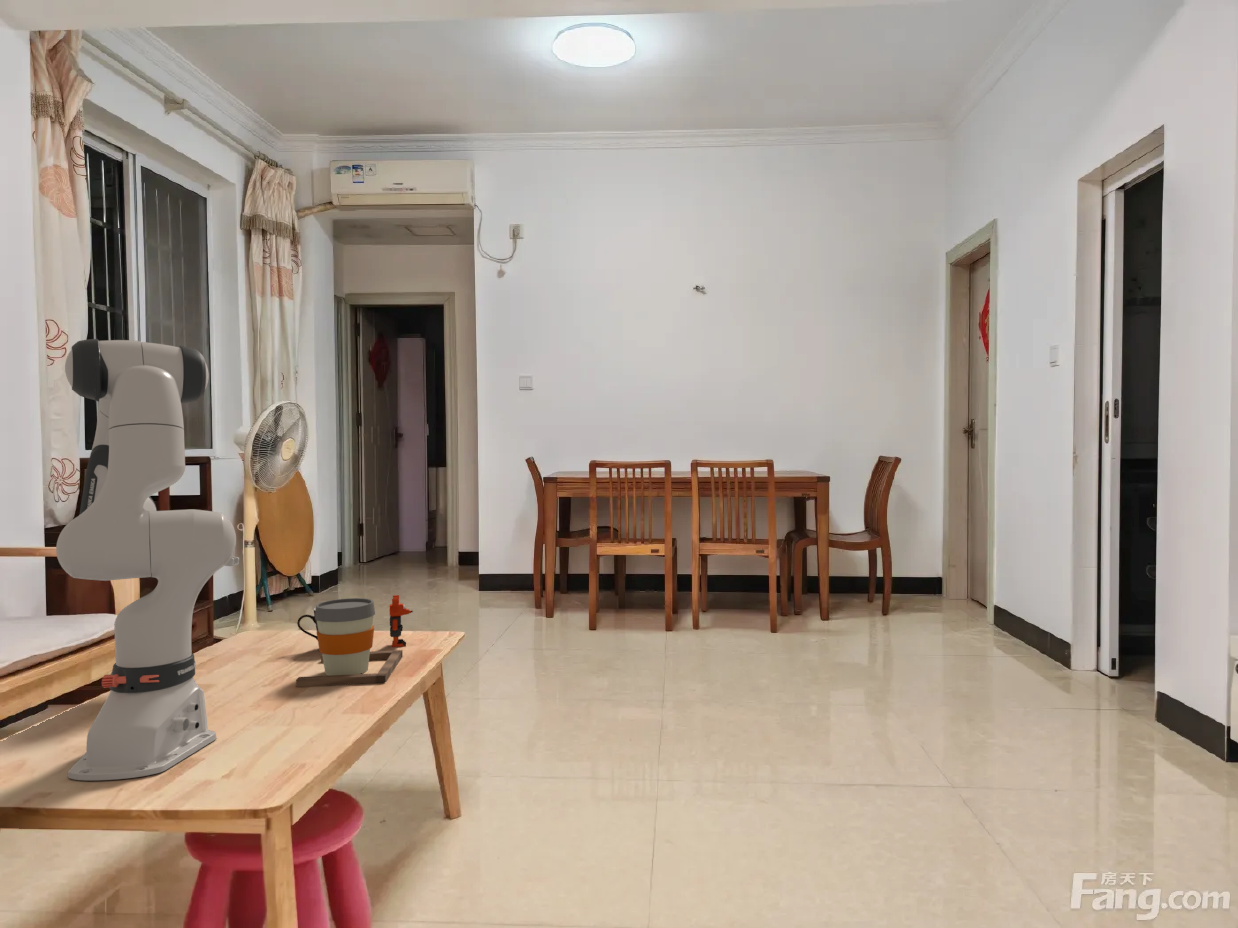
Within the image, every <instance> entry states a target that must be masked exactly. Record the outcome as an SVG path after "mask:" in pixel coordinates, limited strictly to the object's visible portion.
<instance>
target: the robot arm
mask: <svg viewBox="0 0 1238 928" xmlns="http://www.w3.org/2000/svg"><path fill="white" fill-rule="evenodd" d="M64 363H65V365H64V371H65V372H64V373H65V377H66V379H67V381H68V383H69V385H70V386H71V390H72V391H73V392H74V393H75V394H77V395H78V396H80V397H82V398H86V399H90V400H94V401H95V402H98V410H97V411H98V412H97V422H96V430H95V435H94V440H93V444H92V448H91V451H90V455H89V458H88V461H87V466H86V471H85V478H84V483H83V490H82V496H81V503H80V509H79V515H78V516H76V517H74V518H73V519H72V520H70V521H69V522H68V523H67V524H66V525H65V526H64V528H62V530H61V532H60V533H59V536H58V538H57V541H56V545H55V546H56V547H55V548H56V549H55V552H56V558H57V560H58V563H59V565H60V566H61V568H62V570H64V572H65V573H66V574H68V575H69V576H70V577H71V578H74V579H79V580H81V579H82V580H91V581H92V580H93V581H104V582H107V581H118V580H129V579H131V580H132V579H139V578H141V579H142V578H155V579H156V580H157V585H156V586H155V588H153V590H152V591H151V592H149V593H147V594H146V595H143V596H142V597H140V598H138V599H136V600H134V601H133V602H131V603H130V604H128V605H125V607H124V608H122V609H121V610H120V611H119V612H118V614H117V616H116V618H115V620H114V624H113V627H114V651H115V653H114V654H115V655H114V656H115V662H114V663H113V665H112V670H111V673H110V674H104V675H103V676H102V679H101V687H102V688H105V689H106V688H109V690H110V692H109V694H108V696H107V698H106V700H104V701H105V702H104V703H103V705H102V707H101V708H100V710H99V712H98V714H97V715H96V717H95V719H94V721H93V722H92V725H91V726H90V728H89V730H88V731H87V736H86V749H85V750H86V752H85V753H84V754H83V755H82V756H81V757H80V759H78V760H77V761H76V762H75V763H74V765H72V766H71V768H70V769H69V770H68V772H67V773H68V774H67V778H69V779H71V780H75V781H76V780H77V781H113V780H123V779H133V778H139V777H145V776H146V777H147V776H151V775H156V774H159V773H162V772H165V771H166V770H168V769H170V768H171V767H173V766H174V765H176V764H178V763H180V762H181V761H183V760H185V759H186V758H188V757H189V756H191V755H193V754H195V753H196V752H197V751H199V750H201V749H202V748H204V747H205V746H207V745H209V744H210V743H212V742H214V741H215V740H216V739H217V733H216V731H214V730H211V729H209V724H208V716H207V707H206V706H207V705H206V697H205V692H204V690H203V689H202V688H201V687H200V686H199V685H198V683H197V682H196V680H195V679H194V677H195V675H196V665H197V664H196V660H195V654H194V653H193V652H192V624H193V613H194V608H195V604H196V601H197V599H198V596H199V595H200V592H201V591H202V589H203V587H204V586H205V584H206V583H207V582H208V581H209V580H210V579H211V577H212V576H213V575H214V574H216V573H217V571H219V570H221V569H222V568H223V567H224V566H226V567H233V566H238V565H239V564H240V563H239V562H240V557H238V556H236V555H235V552H236V546H237V535H236V530H235V527H234V525H233V523H232V522H231V520H230V519H229V518H228V517H227V516H226V515H225V514H224V513H222V512H219V511H218V512H217V511H211V510H202V509H194V508H193V509H173V510H172V509H171V510H158V508H157V506H156V503H155V501H154V500H153V498H152V497H151V496H153V495H154V494H157V493H160V492H161V491H163V490H165V489H167V488H169V487H171V486H173V485H175V484H176V483H177V482H179V480H181V479H182V477H183V476H184V474H185V472H186V471H185V470H186V450H185V430H184V429H185V427H184V416H183V415H184V414H183V408H182V407H183V406H182V404H187V403H192V402H196V401H198V400H200V399H201V398H202V397H203V396H204V394H205V391H206V389H207V386H208V384H209V378H210V375H209V368H208V365H207V363H206V359H205V357H204V355H203V354H202V353H201V352H200V351H199V350H198V349H195V348H192V347H188V346H184V345H179V346H174V345H168V344H163V343H155V342H147V341H145V342H144V341H140V340H135V339H134V340H132V339H129V340H127V339H113V340H112V339H111V340H99V339H98V338H91V339H84V340H83V339H82V340H78V341H76V342H75V343H74V344H73V345H72V346H71V348H70V351H69V352H68V354H67V357H66V359H65V362H64Z"/></svg>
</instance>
